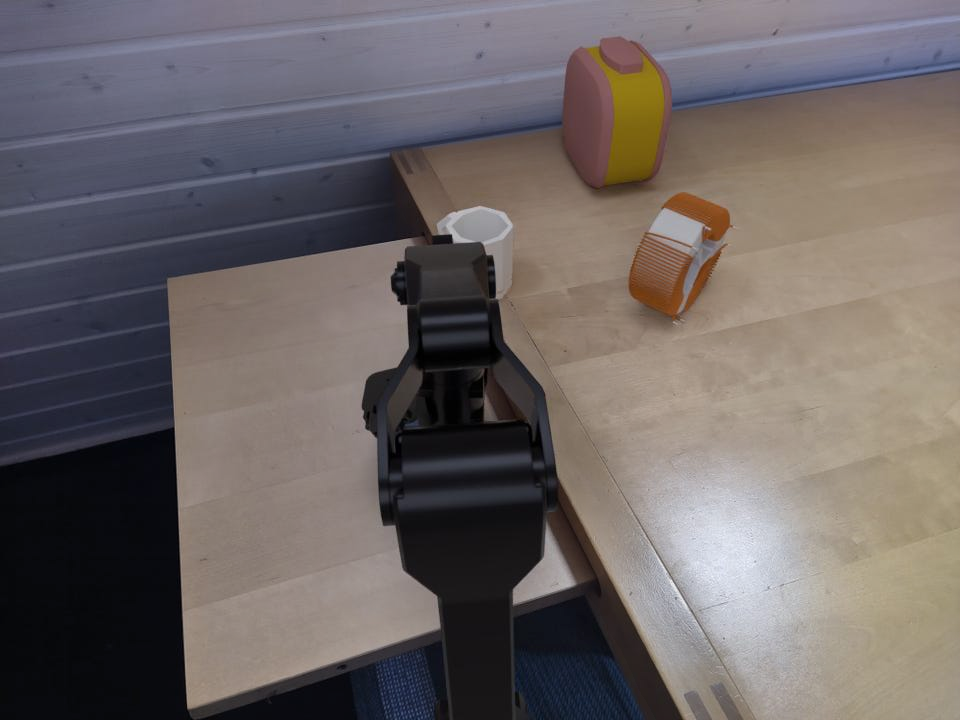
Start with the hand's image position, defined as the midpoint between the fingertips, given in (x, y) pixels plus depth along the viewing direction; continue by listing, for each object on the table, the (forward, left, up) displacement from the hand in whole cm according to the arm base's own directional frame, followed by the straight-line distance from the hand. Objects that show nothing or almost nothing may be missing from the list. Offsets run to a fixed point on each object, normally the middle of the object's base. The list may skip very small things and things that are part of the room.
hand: (458, 462), depth 75 cm
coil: (+28, -27, -2) cm, 39 cm away
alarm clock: (+60, -21, -2) cm, 64 cm away
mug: (+32, 0, -2) cm, 32 cm away
